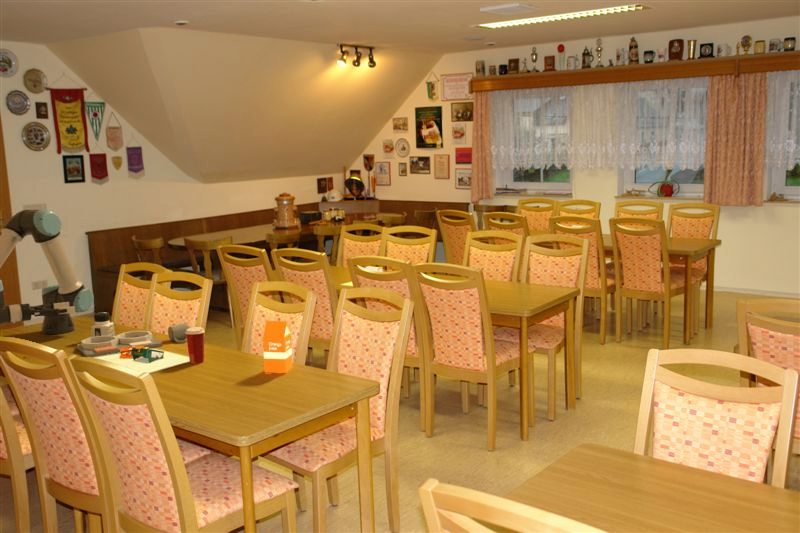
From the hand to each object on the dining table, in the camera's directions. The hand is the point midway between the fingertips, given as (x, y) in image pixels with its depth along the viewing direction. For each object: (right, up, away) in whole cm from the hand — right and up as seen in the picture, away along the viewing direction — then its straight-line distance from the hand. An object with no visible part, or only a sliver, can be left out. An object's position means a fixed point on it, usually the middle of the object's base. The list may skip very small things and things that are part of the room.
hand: (72, 307), depth 351 cm
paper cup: (+65, -21, -32) cm, 76 cm away
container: (+11, -16, +10) cm, 22 cm away
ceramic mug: (+48, -16, +5) cm, 51 cm away
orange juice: (+102, -23, -48) cm, 115 cm away
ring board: (+23, -18, -4) cm, 29 cm away
